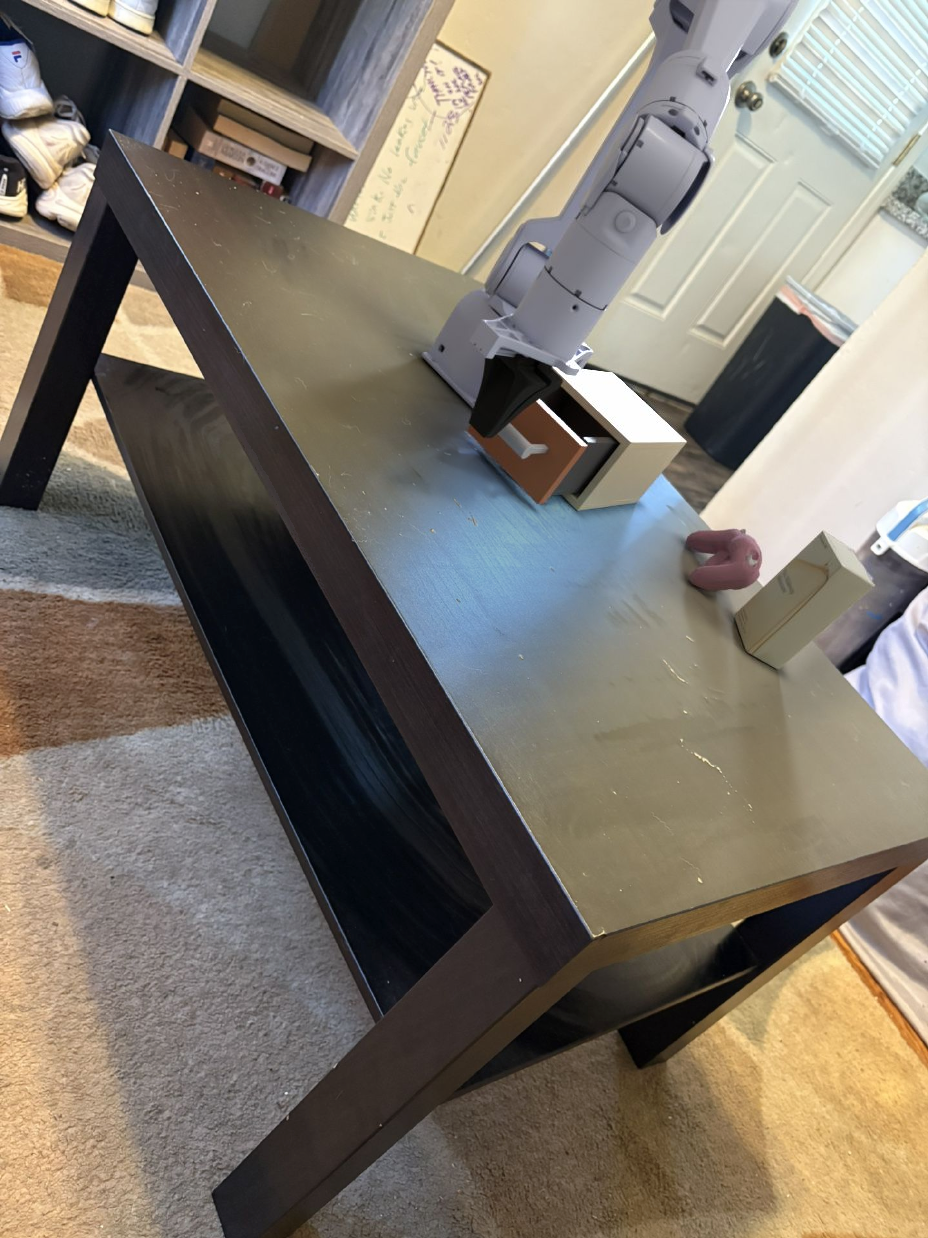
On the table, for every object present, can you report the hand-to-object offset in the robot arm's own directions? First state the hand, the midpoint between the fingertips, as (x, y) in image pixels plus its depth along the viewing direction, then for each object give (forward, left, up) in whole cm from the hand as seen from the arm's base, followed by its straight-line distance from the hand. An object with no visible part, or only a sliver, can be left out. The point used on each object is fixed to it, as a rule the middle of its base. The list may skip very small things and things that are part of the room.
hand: (480, 430), depth 73 cm
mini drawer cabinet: (0, +22, -5) cm, 22 cm away
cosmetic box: (+26, +24, -5) cm, 36 cm away
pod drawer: (0, +11, -4) cm, 12 cm away
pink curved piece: (+17, +28, -5) cm, 33 cm away
